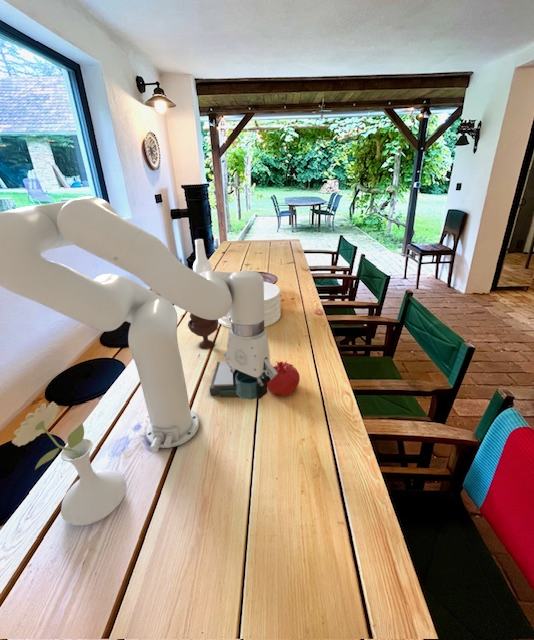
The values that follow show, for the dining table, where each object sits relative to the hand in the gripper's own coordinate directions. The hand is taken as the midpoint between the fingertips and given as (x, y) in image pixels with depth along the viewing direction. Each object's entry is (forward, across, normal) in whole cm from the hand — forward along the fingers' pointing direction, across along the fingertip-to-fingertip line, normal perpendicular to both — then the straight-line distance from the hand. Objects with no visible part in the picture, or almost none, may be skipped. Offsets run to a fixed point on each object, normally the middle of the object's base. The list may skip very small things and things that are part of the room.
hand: (250, 389), depth 80 cm
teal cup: (+1, 0, 0) cm, 1 cm away
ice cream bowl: (+8, -38, +20) cm, 44 cm away
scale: (+8, -14, +9) cm, 18 cm away
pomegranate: (+8, 0, +14) cm, 16 cm away
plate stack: (+8, -42, +49) cm, 65 cm away
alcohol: (+8, -73, +52) cm, 90 cm away
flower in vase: (+9, -9, -37) cm, 39 cm away
